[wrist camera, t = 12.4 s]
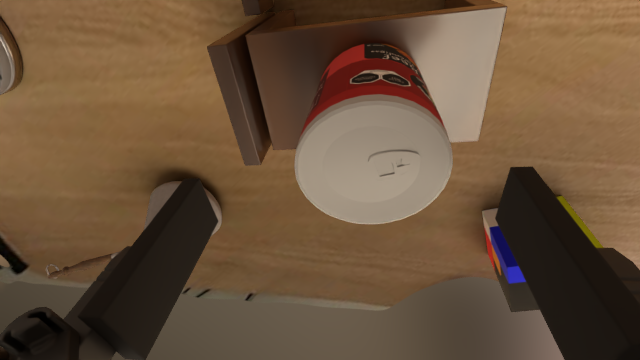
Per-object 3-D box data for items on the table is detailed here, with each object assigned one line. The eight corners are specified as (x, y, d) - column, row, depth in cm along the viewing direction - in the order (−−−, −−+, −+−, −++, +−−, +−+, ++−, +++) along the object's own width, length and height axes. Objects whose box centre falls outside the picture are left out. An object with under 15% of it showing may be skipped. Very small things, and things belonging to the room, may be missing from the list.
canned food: (438, 101, 24) (480, 189, 15) (354, 150, 27) (348, 243, 19) (388, 13, 21) (404, 60, 12) (300, 82, 24) (262, 156, 15)
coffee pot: (212, 169, 46) (158, 246, 34) (237, 223, 52) (199, 303, 40) (95, 179, 50) (11, 250, 38) (133, 227, 57) (71, 301, 45)
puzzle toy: (481, 210, 44) (506, 267, 36) (562, 195, 41) (608, 254, 33) (488, 254, 49) (511, 312, 41) (559, 243, 46) (599, 304, 38)
